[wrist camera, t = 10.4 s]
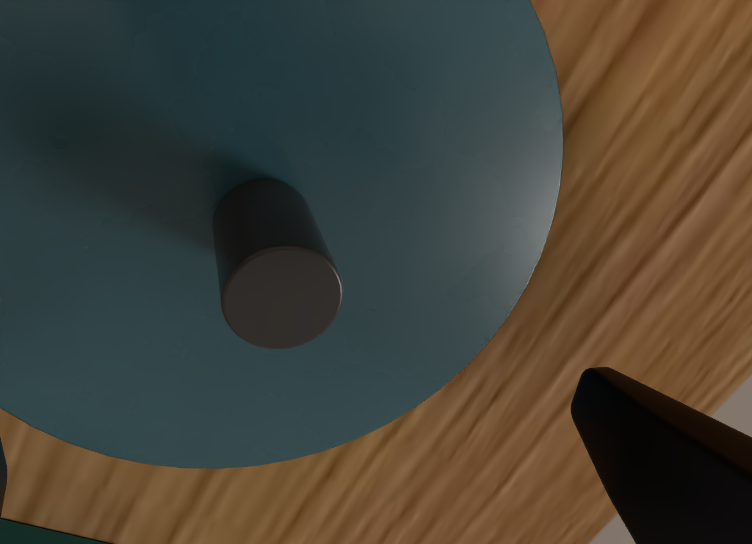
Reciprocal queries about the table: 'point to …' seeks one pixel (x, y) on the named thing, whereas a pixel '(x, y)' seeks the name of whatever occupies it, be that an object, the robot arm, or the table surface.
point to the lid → (262, 214)
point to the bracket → (36, 535)
